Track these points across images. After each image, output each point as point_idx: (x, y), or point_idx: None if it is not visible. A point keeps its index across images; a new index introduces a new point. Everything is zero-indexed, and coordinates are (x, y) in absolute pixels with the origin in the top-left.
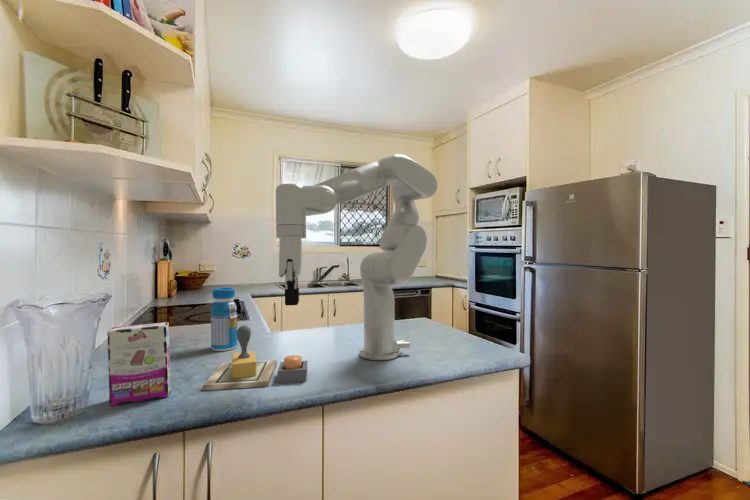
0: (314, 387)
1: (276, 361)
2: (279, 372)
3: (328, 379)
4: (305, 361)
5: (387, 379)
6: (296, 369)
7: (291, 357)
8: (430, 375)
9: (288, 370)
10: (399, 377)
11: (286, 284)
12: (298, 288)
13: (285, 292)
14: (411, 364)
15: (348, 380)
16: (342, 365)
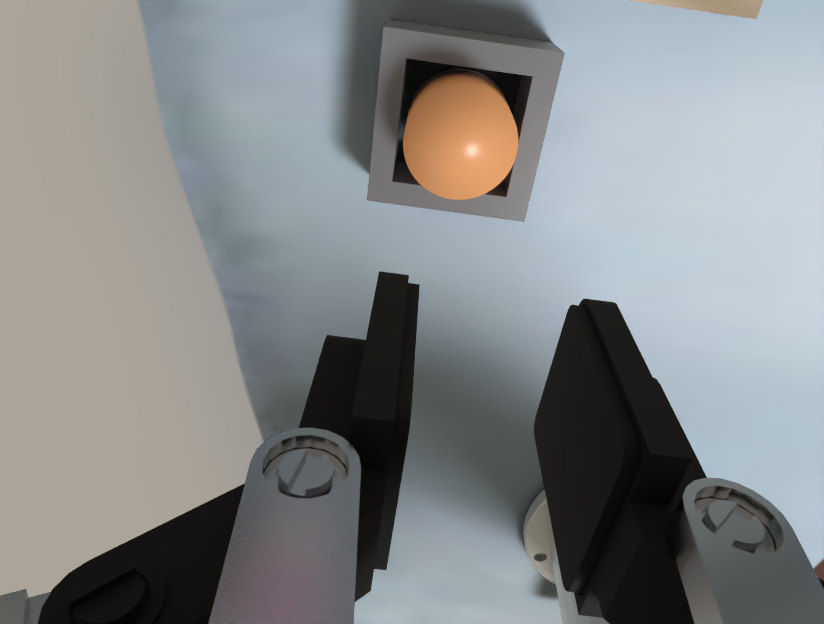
0: (288, 207)
1: (739, 16)
2: (383, 39)
3: (373, 279)
4: (511, 209)
5: None
6: (382, 147)
7: (475, 136)
8: None
9: (376, 99)
10: None
11: (238, 536)
12: (575, 599)
13: (357, 389)
14: (443, 575)
15: None
16: (540, 365)
